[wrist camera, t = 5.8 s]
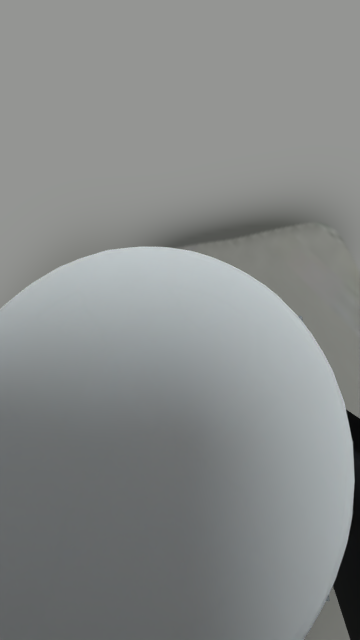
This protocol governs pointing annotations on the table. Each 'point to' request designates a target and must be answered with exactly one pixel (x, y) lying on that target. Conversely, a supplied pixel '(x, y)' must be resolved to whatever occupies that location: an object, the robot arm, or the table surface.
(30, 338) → the supplement bottle
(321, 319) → the table surface
